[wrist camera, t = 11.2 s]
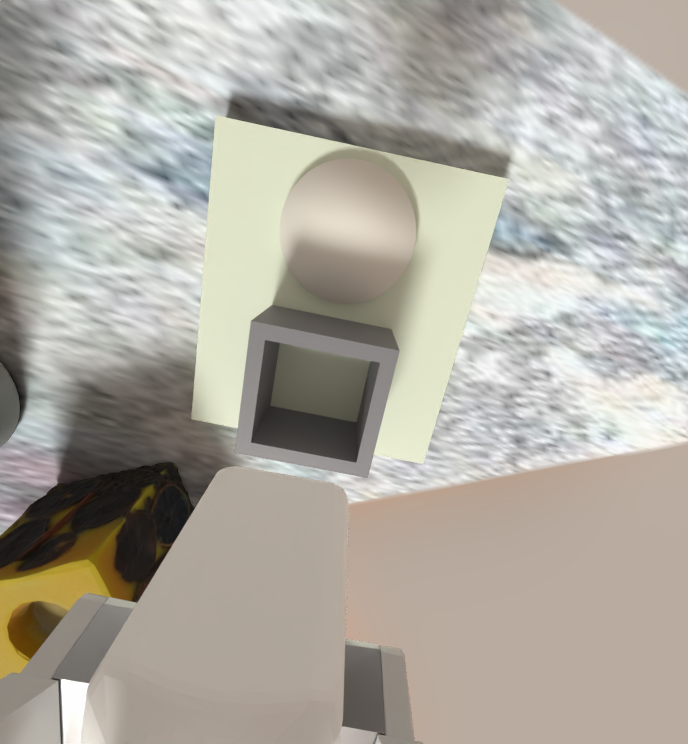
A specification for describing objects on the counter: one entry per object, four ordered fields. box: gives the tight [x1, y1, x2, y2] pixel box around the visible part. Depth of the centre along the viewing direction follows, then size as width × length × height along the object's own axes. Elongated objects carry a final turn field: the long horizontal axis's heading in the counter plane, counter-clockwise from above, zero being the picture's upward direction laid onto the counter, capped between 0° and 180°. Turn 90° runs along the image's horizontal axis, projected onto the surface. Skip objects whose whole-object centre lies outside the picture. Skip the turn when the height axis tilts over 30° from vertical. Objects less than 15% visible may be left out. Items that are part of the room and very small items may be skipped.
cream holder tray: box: [191, 115, 509, 478], centre depth 22 cm, size 18×16×6 cm
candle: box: [0, 463, 194, 679], centre depth 27 cm, size 10×10×10 cm
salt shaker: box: [81, 466, 349, 744], centre depth 8 cm, size 4×4×10 cm
